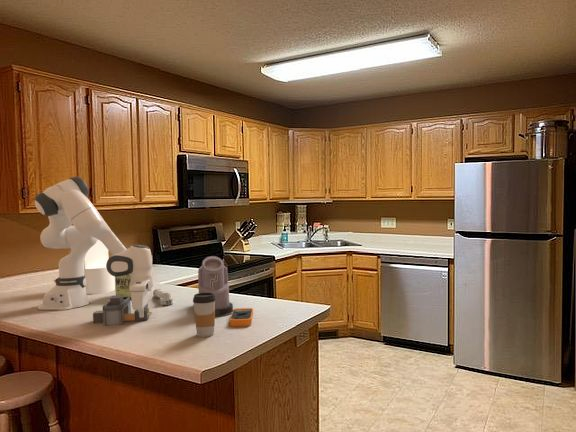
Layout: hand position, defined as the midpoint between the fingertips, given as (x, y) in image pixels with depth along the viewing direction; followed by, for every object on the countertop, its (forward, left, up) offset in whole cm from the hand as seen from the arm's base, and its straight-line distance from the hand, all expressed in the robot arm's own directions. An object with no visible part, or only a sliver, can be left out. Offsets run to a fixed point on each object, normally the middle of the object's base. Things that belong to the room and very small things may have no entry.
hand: (143, 315), depth 191 cm
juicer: (+29, +12, -2) cm, 31 cm away
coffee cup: (+29, -26, -2) cm, 39 cm away
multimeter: (+42, -9, -2) cm, 43 cm away
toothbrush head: (+1, +33, -2) cm, 33 cm away
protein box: (-16, +46, -2) cm, 49 cm away
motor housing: (-11, 0, -2) cm, 11 cm away
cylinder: (-40, +65, -2) cm, 77 cm away
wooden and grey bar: (-9, 0, -2) cm, 9 cm away
